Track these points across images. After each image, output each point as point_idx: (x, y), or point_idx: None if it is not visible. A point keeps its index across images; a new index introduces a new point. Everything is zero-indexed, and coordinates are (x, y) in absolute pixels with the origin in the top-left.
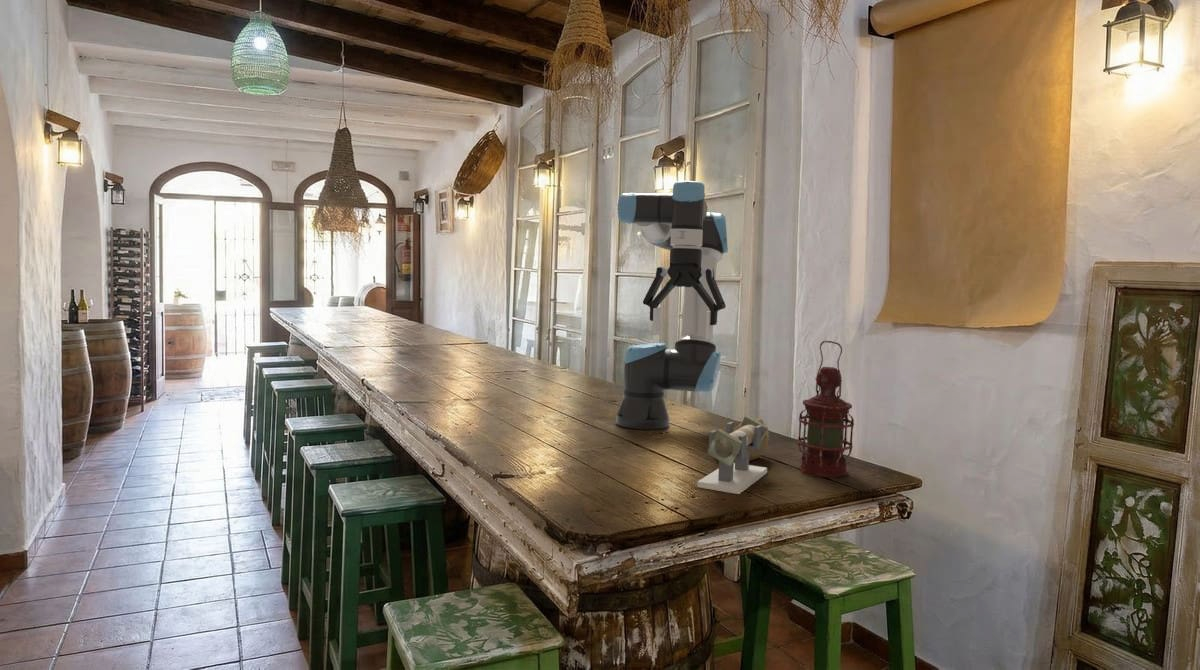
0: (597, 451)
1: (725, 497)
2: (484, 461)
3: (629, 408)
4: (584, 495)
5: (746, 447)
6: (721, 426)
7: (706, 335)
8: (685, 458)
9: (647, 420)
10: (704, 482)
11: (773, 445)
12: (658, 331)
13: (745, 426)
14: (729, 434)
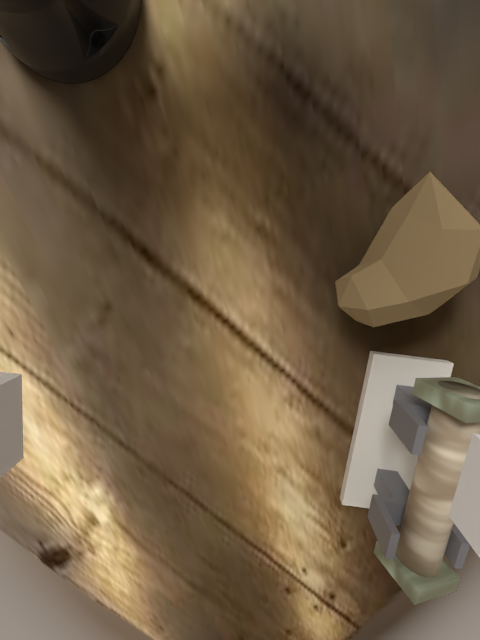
0: (102, 353)
1: None
2: None
3: (15, 35)
4: (199, 593)
5: None
6: (367, 310)
7: (475, 541)
8: (275, 323)
9: (93, 56)
10: (353, 505)
11: (452, 76)
12: (1, 411)
13: (460, 452)
14: (436, 586)
